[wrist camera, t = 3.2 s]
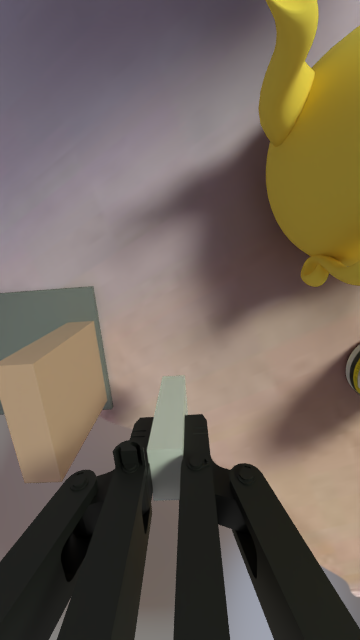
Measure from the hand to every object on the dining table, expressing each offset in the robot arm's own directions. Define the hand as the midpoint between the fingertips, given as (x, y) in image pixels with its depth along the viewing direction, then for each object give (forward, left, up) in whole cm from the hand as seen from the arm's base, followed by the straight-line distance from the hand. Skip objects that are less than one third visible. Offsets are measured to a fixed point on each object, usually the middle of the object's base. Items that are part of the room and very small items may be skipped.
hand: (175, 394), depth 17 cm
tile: (0, -8, -6) cm, 10 cm away
